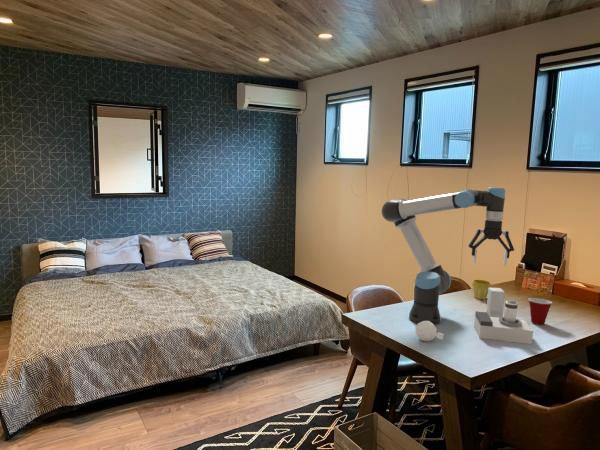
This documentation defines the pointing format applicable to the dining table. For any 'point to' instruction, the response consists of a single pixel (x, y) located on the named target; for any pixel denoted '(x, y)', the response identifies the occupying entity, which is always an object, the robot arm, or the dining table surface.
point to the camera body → (502, 329)
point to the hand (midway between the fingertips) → (489, 263)
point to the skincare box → (495, 302)
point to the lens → (510, 311)
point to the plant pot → (481, 288)
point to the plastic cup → (539, 310)
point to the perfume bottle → (427, 331)
